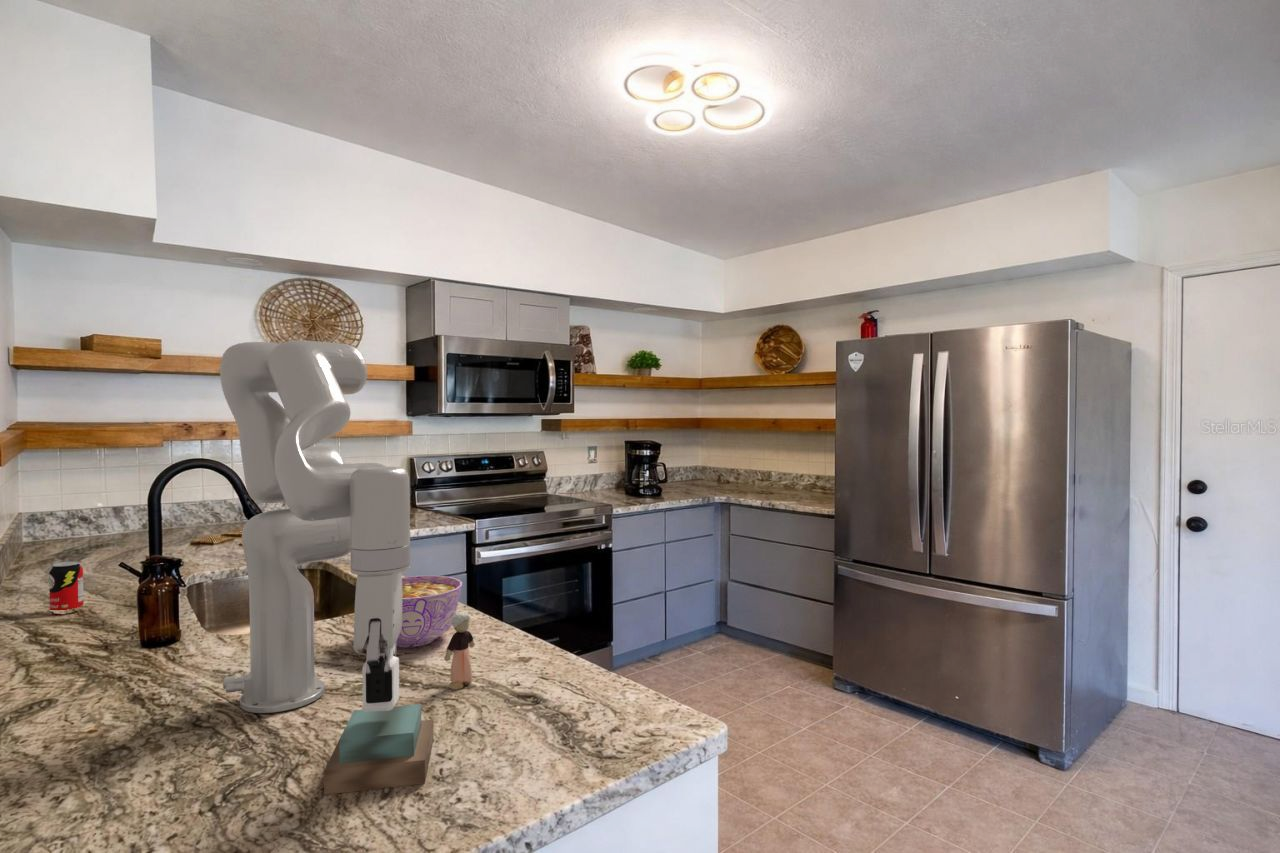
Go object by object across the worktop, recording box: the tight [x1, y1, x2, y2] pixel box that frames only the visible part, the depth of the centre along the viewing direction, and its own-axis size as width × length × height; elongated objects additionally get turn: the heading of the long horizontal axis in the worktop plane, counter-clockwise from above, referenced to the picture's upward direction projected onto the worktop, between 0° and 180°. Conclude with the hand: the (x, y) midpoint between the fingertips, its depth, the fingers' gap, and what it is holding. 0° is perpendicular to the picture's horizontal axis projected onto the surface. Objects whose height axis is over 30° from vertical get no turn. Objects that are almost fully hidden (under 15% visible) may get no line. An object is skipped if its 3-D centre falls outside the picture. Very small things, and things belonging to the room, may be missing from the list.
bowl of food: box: [396, 575, 463, 648], centre depth 143 cm, size 20×20×12 cm
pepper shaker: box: [362, 643, 400, 712], centre depth 91 cm, size 4×4×10 cm
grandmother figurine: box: [443, 611, 476, 690], centre depth 119 cm, size 8×4×13 cm, turn 168°
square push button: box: [323, 703, 434, 795], centre depth 91 cm, size 12×12×6 cm
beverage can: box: [48, 560, 84, 611], centre depth 166 cm, size 6×6×12 cm
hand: (382, 692), depth 91 cm, fingers closed on pepper shaker, 4 cm apart
